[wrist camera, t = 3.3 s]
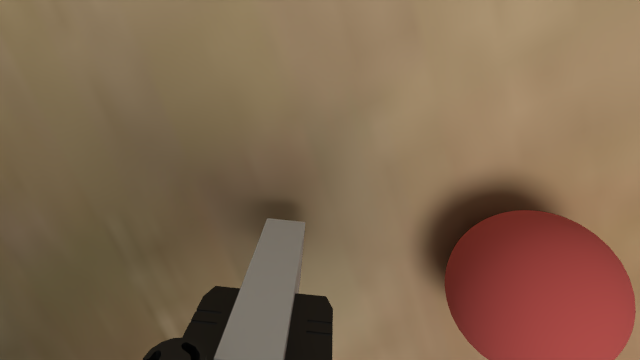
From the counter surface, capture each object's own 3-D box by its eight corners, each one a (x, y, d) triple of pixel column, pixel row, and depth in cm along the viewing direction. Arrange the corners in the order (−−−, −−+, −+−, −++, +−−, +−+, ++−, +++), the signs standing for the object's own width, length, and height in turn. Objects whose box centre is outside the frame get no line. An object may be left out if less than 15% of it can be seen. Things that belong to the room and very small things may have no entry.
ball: (417, 293, 17) (456, 414, 12) (444, 179, 15) (509, 261, 10) (539, 305, 17) (637, 432, 12) (585, 193, 15) (732, 284, 10)
